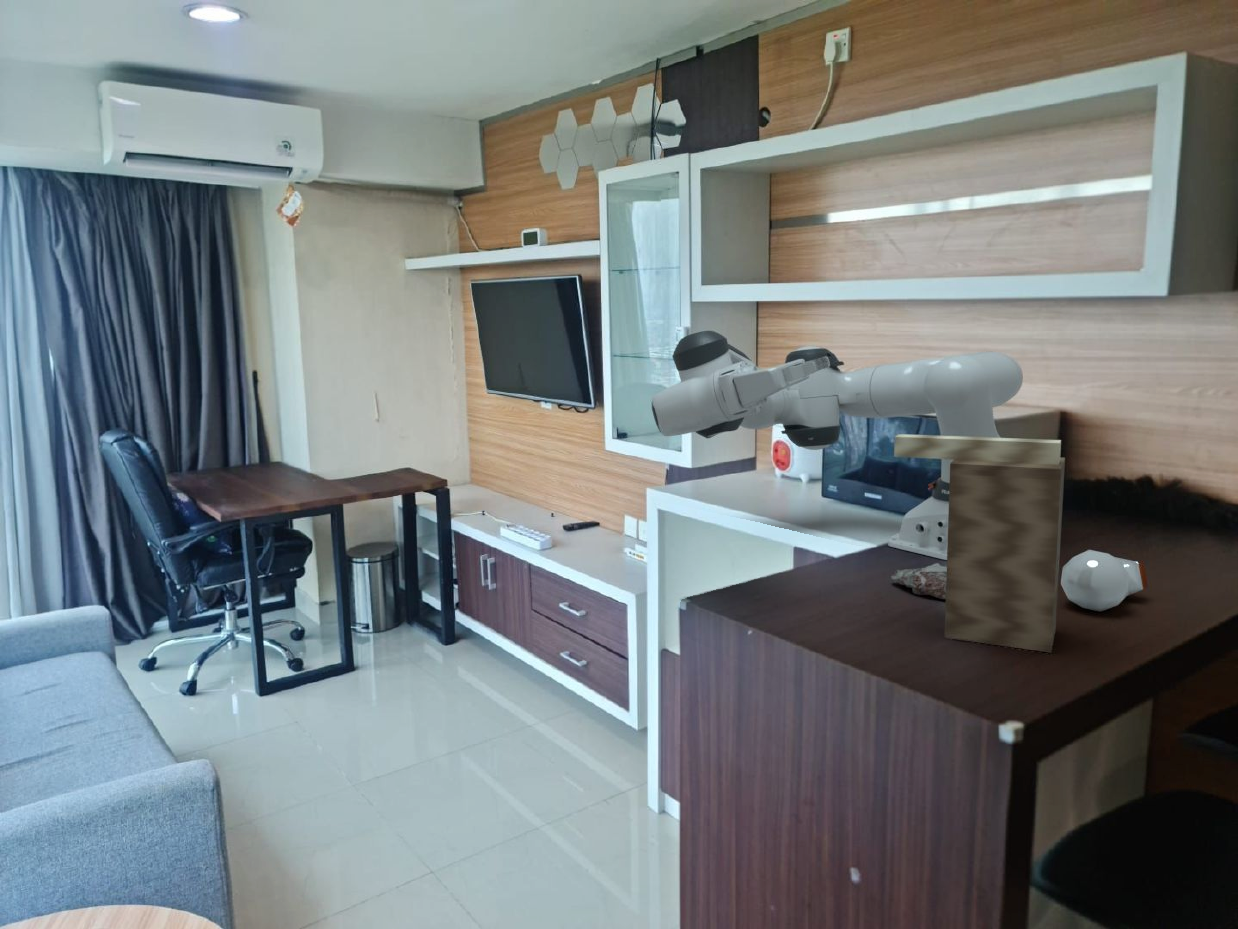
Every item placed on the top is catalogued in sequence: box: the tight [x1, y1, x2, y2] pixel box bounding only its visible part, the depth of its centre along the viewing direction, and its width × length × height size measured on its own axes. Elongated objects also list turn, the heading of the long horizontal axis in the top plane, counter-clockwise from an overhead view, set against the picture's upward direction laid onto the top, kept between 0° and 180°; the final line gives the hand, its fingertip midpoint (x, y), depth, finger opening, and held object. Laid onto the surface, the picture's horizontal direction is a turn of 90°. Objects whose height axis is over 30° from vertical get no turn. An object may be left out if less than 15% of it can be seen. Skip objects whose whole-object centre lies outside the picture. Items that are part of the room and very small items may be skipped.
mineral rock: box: [890, 562, 947, 600], centre depth 146 cm, size 15×8×4 cm, turn 25°
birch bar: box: [893, 433, 1062, 465], centre depth 124 cm, size 22×3×3 cm, turn 60°
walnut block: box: [944, 456, 1066, 654], centre depth 125 cm, size 14×10×26 cm
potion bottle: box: [1060, 549, 1149, 613], centre depth 137 cm, size 9×10×15 cm
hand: (822, 363), depth 135 cm, fingers open, 8 cm apart
